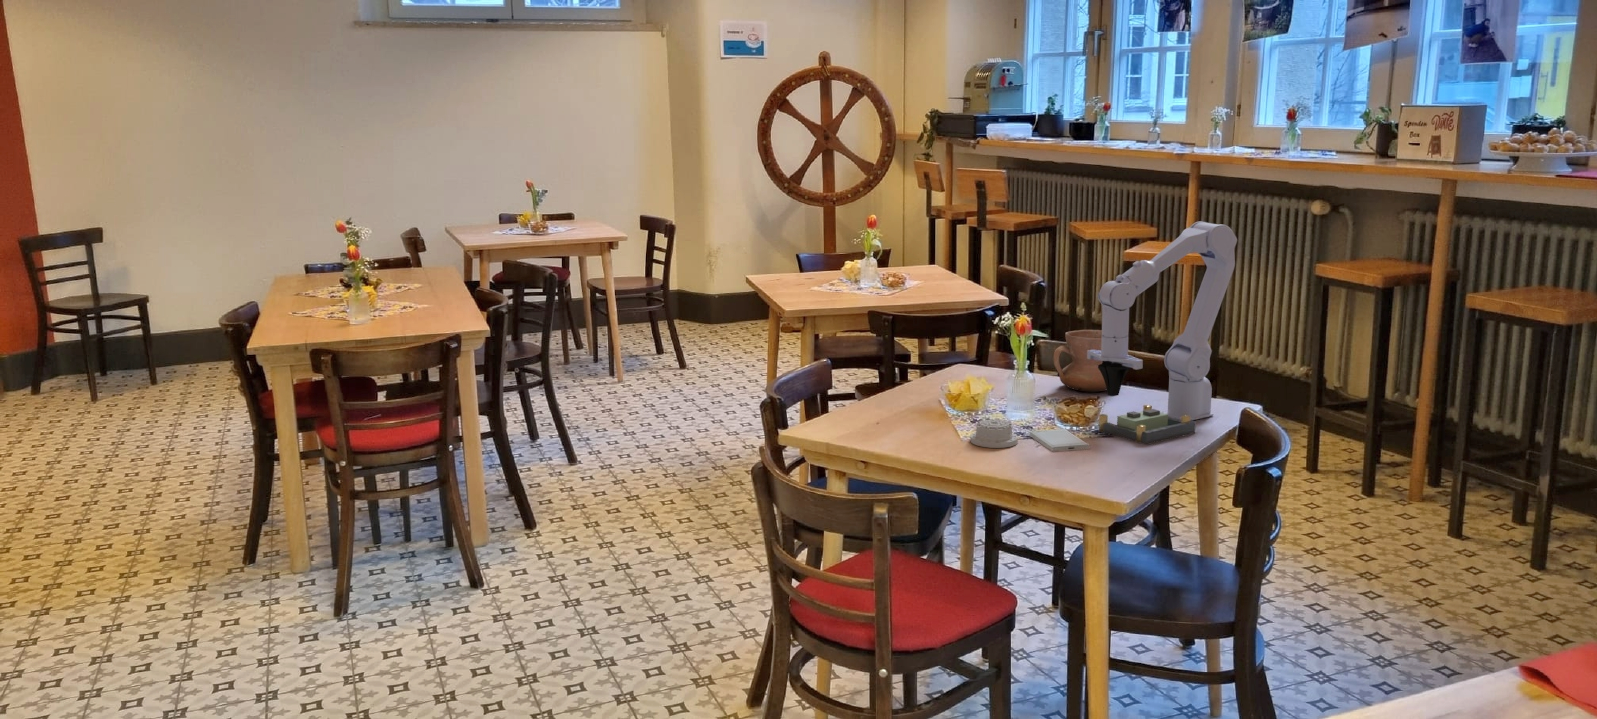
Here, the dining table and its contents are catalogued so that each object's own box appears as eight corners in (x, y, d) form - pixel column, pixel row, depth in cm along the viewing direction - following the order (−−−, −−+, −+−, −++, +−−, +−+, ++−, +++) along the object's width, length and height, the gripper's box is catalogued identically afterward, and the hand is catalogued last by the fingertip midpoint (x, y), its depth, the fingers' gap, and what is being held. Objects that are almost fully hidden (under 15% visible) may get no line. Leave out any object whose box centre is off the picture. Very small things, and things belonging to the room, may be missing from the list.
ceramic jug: (1110, 380, 300) (1112, 326, 297) (1132, 393, 286) (1134, 337, 283) (1042, 383, 298) (1044, 329, 295) (1061, 397, 284) (1063, 340, 281)
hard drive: (1029, 431, 251) (1052, 446, 239) (1065, 428, 252) (1089, 443, 241) (1029, 438, 251) (1052, 454, 239) (1065, 435, 253) (1089, 451, 241)
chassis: (1146, 419, 262) (1147, 404, 262) (1195, 432, 251) (1196, 417, 250) (1096, 430, 254) (1097, 415, 253) (1145, 444, 243) (1146, 428, 242)
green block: (1149, 427, 257) (1150, 406, 256) (1167, 432, 253) (1168, 411, 252) (1116, 433, 252) (1117, 412, 251) (1133, 439, 248) (1134, 417, 247)
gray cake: (1027, 442, 247) (989, 433, 254) (1027, 422, 246) (989, 414, 253) (999, 452, 240) (960, 443, 247) (999, 431, 239) (961, 423, 246)
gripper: (1077, 333, 261) (1076, 391, 263) (1127, 343, 248) (1125, 404, 251) (1100, 329, 264) (1098, 387, 267) (1150, 338, 252) (1148, 399, 255)
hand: (1113, 395), depth 259 cm, fingers closed
